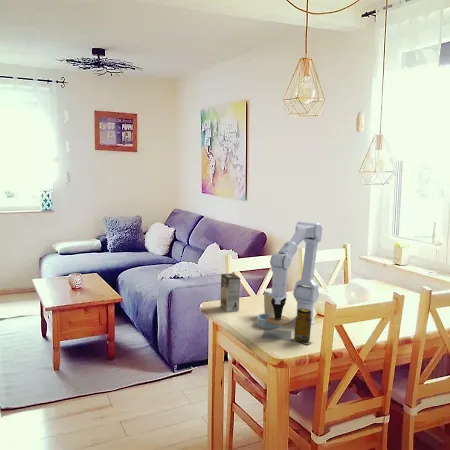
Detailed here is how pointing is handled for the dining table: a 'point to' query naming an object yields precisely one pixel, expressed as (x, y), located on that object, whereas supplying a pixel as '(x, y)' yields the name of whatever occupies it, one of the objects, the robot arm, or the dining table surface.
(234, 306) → the coffee box
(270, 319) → the lid
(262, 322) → the bowl
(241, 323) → the dining table surface
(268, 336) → the mat
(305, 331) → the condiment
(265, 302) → the coffee cup
